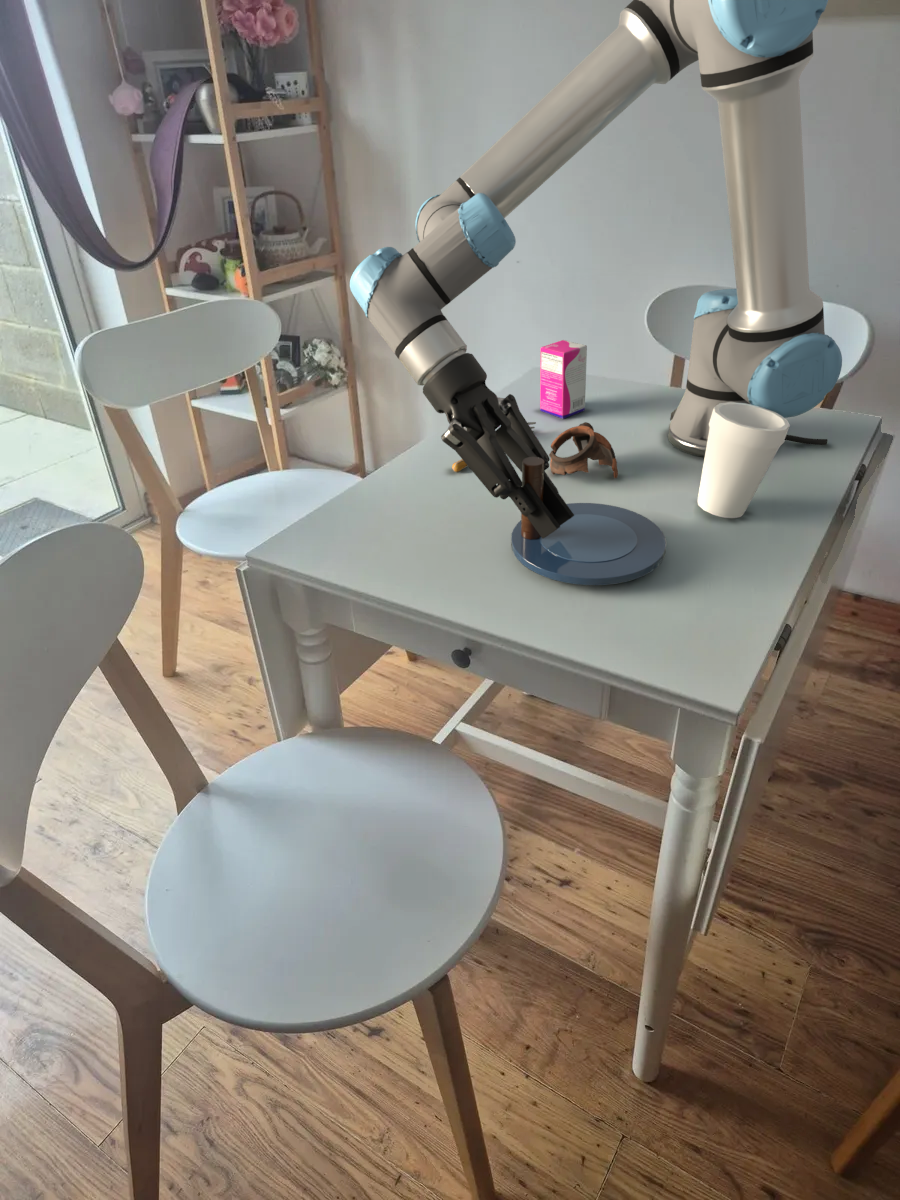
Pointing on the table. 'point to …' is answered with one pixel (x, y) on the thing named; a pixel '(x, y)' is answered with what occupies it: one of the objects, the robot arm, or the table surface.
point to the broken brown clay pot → (582, 451)
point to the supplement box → (563, 378)
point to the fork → (462, 464)
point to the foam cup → (738, 456)
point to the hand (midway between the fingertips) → (558, 526)
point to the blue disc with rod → (588, 541)
